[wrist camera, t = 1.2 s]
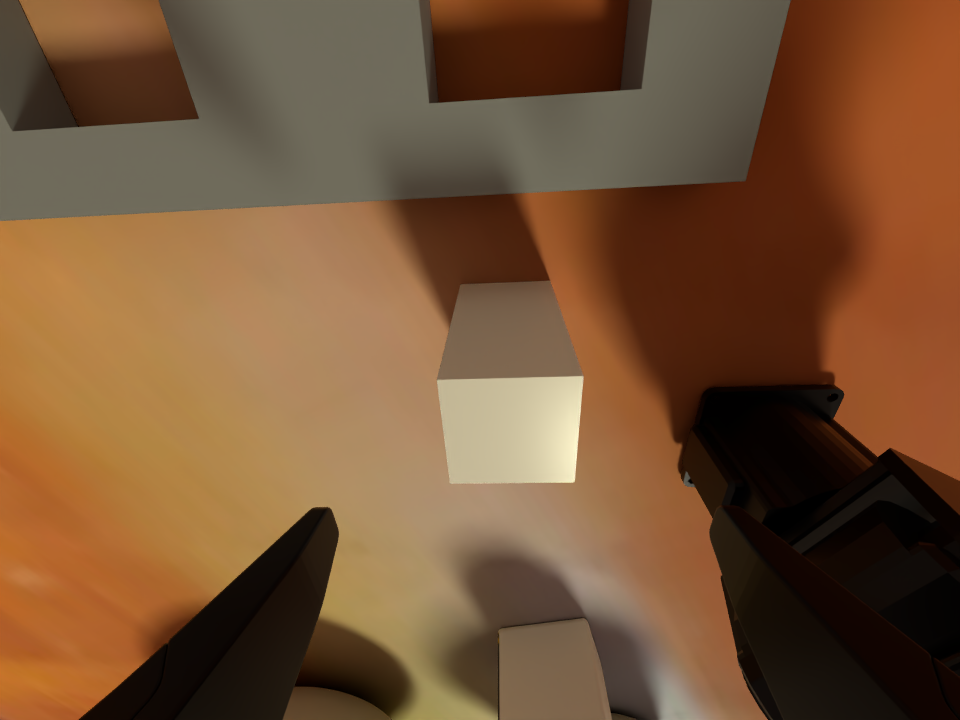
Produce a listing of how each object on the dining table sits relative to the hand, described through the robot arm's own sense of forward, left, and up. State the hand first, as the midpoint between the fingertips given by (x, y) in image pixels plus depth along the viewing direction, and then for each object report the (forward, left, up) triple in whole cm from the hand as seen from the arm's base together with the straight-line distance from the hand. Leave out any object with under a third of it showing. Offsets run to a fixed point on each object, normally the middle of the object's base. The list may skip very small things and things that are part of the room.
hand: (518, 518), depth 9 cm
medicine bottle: (-3, +29, -11) cm, 31 cm away
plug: (0, 0, -11) cm, 11 cm away
